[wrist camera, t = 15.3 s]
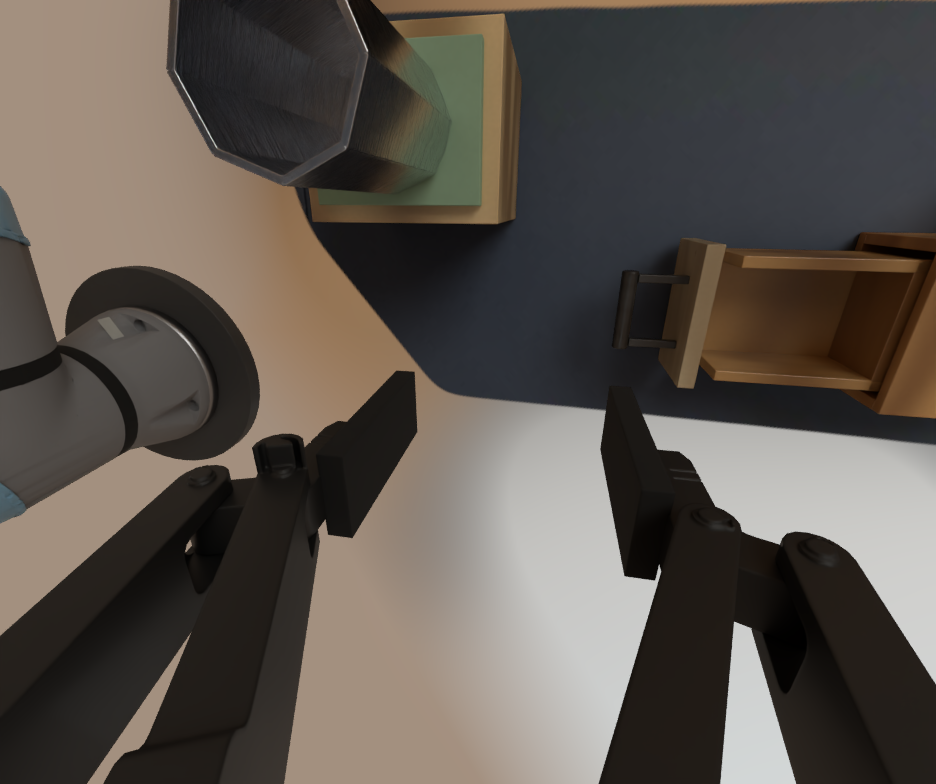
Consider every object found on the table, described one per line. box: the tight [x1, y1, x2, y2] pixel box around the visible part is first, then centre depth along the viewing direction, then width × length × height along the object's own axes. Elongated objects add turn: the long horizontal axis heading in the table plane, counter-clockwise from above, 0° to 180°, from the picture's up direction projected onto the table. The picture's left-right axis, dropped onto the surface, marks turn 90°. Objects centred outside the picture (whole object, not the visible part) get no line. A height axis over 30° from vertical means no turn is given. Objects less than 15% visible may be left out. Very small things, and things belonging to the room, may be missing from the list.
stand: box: [309, 14, 522, 224], centre depth 31 cm, size 12×10×13 cm
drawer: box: [612, 238, 933, 391], centre depth 33 cm, size 18×10×7 cm, turn 90°
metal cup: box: [166, 0, 452, 195], centre depth 19 cm, size 6×6×12 cm
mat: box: [317, 34, 484, 206], centre depth 25 cm, size 10×8×1 cm
